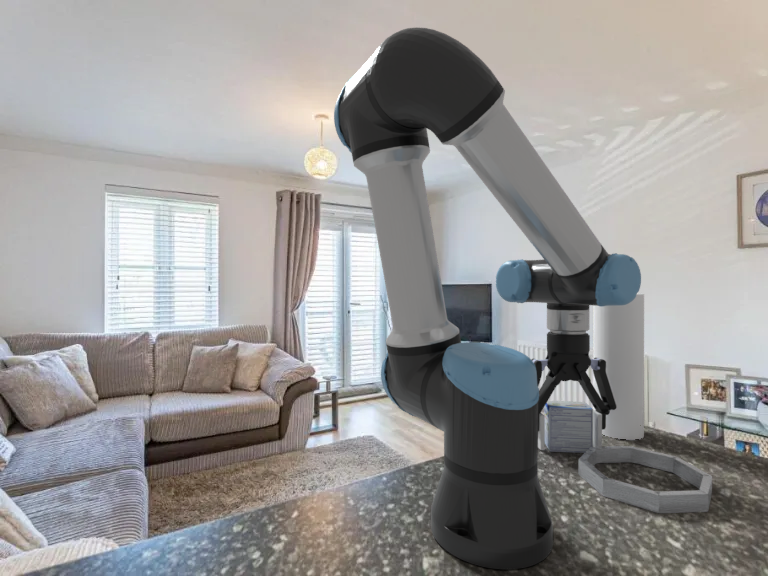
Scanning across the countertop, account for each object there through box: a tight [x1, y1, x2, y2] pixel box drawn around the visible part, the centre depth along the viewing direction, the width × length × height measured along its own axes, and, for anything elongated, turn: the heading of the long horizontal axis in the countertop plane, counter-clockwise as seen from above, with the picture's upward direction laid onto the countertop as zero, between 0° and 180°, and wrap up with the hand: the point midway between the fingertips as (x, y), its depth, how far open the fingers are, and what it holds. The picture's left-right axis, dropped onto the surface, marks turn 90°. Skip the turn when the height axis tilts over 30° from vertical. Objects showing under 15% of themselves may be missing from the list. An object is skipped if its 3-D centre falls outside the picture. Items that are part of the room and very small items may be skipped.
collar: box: [577, 445, 713, 514], centre depth 66 cm, size 17×17×2 cm
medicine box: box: [543, 400, 594, 454], centre depth 79 cm, size 8×4×9 cm, turn 82°
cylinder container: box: [592, 292, 645, 441], centre depth 88 cm, size 9×9×30 cm
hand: (567, 446), depth 79 cm, fingers open, 10 cm apart
